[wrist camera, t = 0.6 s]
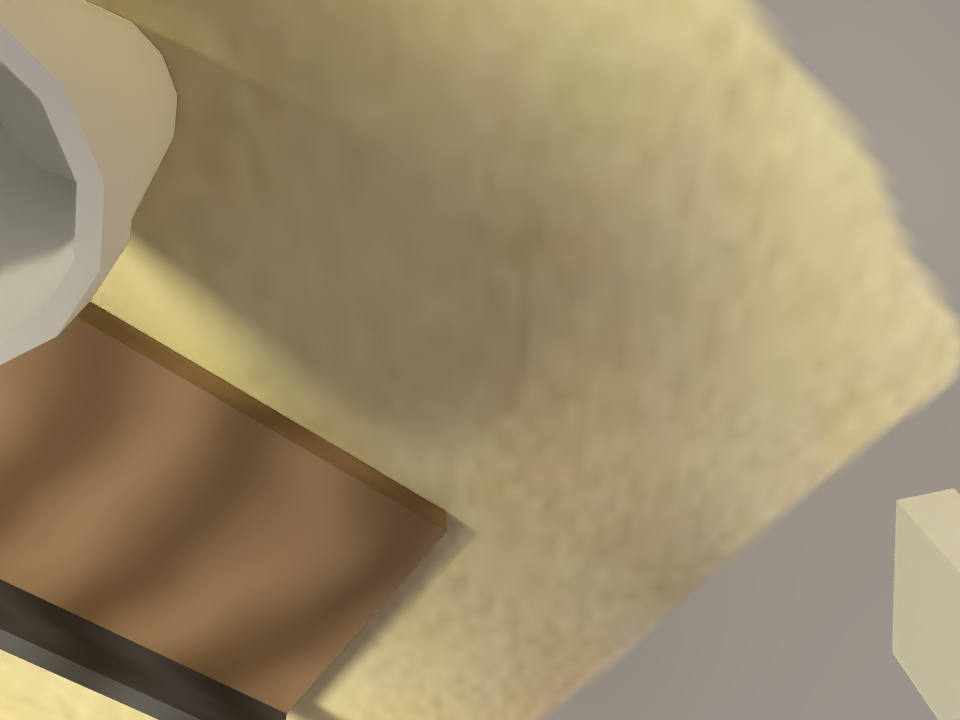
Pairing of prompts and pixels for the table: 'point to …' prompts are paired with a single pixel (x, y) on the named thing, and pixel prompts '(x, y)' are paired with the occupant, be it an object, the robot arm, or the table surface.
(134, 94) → the foam cup
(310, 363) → the table surface
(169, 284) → the table surface
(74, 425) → the shelf board
